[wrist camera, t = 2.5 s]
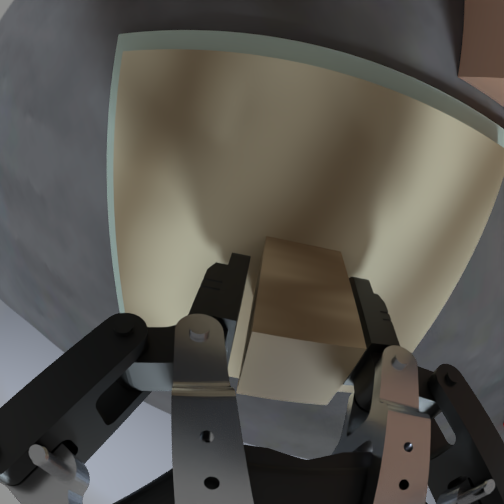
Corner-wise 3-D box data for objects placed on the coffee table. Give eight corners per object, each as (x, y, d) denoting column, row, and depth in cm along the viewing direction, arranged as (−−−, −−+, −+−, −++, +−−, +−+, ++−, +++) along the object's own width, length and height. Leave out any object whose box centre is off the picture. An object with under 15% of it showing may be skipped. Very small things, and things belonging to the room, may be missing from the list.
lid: (497, 147, 8) (590, 196, 3) (376, 382, 17) (388, 460, 11) (135, 53, 9) (24, 42, 3) (138, 339, 17) (100, 415, 12)
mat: (507, 134, 8) (514, 136, 8) (380, 383, 18) (381, 390, 17) (125, 36, 9) (118, 34, 8) (129, 338, 18) (126, 345, 17)
